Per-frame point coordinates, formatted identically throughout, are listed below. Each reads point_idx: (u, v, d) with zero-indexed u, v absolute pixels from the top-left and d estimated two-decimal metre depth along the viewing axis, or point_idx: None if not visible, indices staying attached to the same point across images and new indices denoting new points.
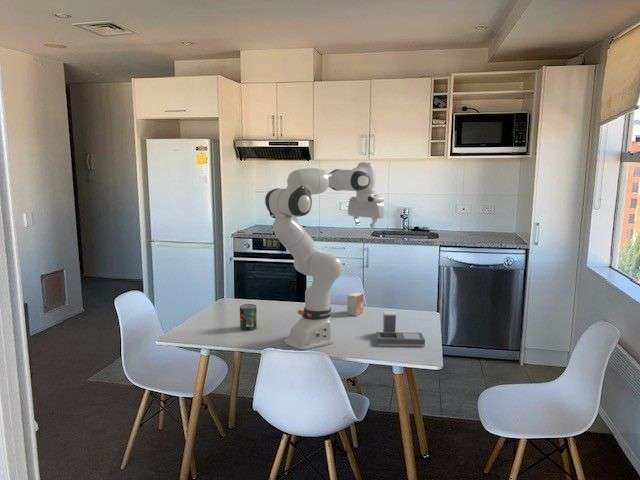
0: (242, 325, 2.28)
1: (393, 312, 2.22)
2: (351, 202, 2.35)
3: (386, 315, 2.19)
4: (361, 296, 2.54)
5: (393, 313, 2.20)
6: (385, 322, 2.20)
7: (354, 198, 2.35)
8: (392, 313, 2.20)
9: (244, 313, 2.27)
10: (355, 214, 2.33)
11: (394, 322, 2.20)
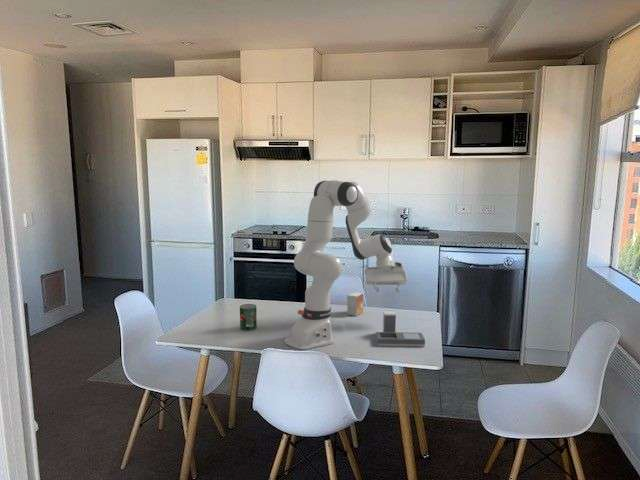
0: (242, 325, 2.28)
1: (393, 312, 2.22)
2: (371, 270, 2.38)
3: (386, 315, 2.19)
4: (361, 296, 2.54)
5: (393, 313, 2.20)
6: (385, 322, 2.20)
7: (372, 268, 2.40)
8: (392, 313, 2.20)
9: (244, 313, 2.27)
10: (377, 279, 2.35)
11: (394, 322, 2.20)
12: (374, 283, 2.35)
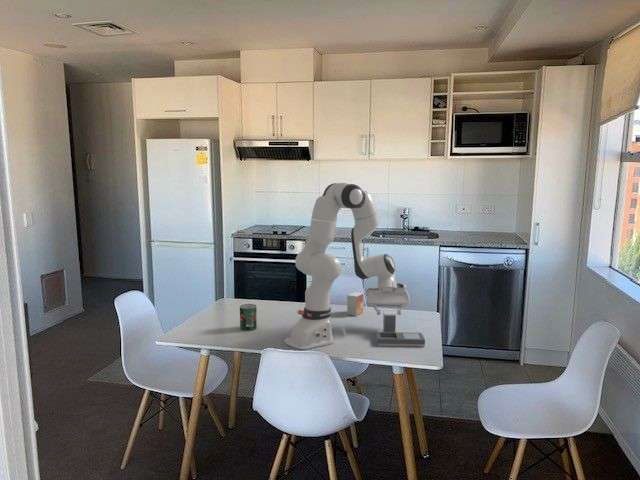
0: (242, 325, 2.28)
1: (393, 312, 2.22)
2: (372, 291, 2.30)
3: (386, 315, 2.19)
4: (361, 296, 2.54)
5: (393, 313, 2.20)
6: (385, 322, 2.20)
7: (373, 289, 2.32)
8: (392, 313, 2.20)
9: (244, 313, 2.27)
10: (378, 301, 2.27)
11: (394, 322, 2.20)
12: (375, 305, 2.26)
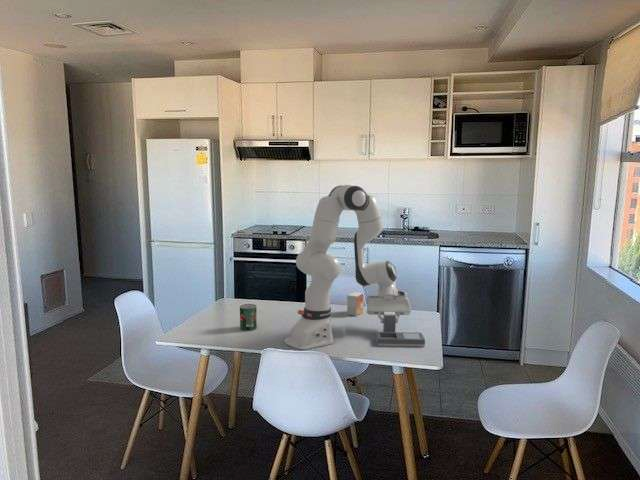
0: (242, 325, 2.28)
1: (393, 312, 2.22)
2: (372, 298, 2.27)
3: (386, 315, 2.19)
4: (361, 296, 2.54)
5: (393, 313, 2.20)
6: (385, 322, 2.20)
7: (373, 296, 2.29)
8: (392, 313, 2.20)
9: (244, 313, 2.27)
10: (378, 309, 2.24)
11: (394, 322, 2.20)
12: (379, 313, 2.23)
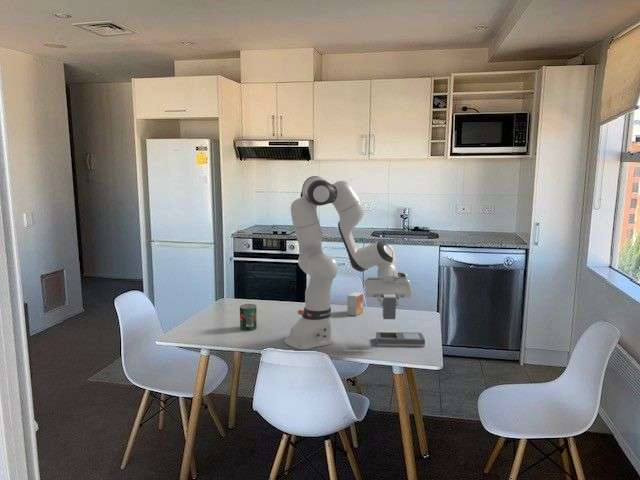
0: (242, 325, 2.28)
1: (393, 294, 2.10)
2: (371, 280, 2.15)
3: (386, 297, 2.07)
4: (361, 296, 2.54)
5: (393, 295, 2.08)
6: (385, 305, 2.08)
7: (372, 278, 2.17)
8: (392, 295, 2.08)
9: (244, 313, 2.27)
10: (378, 291, 2.12)
11: (394, 305, 2.08)
12: (378, 295, 2.11)
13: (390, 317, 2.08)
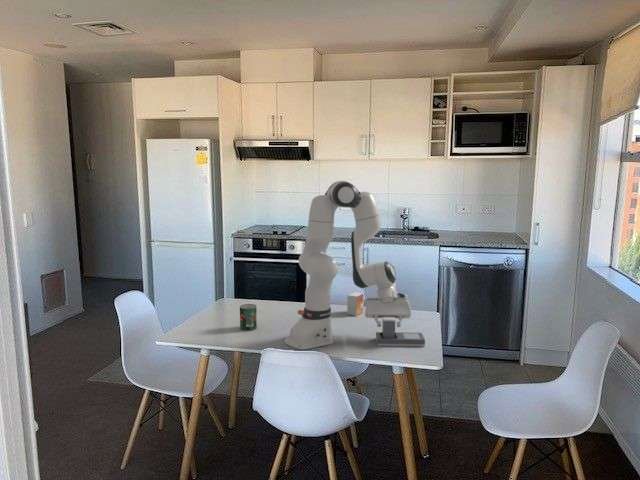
0: (242, 325, 2.28)
1: (393, 317, 2.11)
2: (371, 301, 2.16)
3: (385, 320, 2.09)
4: (361, 296, 2.54)
5: (393, 318, 2.10)
6: (384, 328, 2.09)
7: (372, 299, 2.18)
8: (391, 318, 2.10)
9: (244, 313, 2.27)
10: (377, 312, 2.13)
11: (394, 328, 2.09)
12: (375, 316, 2.13)
13: None
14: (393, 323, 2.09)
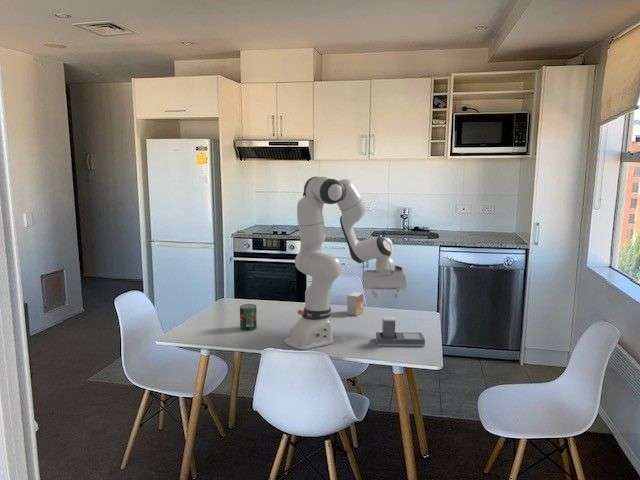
0: (242, 325, 2.28)
1: (393, 317, 2.11)
2: (369, 273, 2.27)
3: (385, 320, 2.09)
4: (361, 296, 2.54)
5: (393, 318, 2.10)
6: (384, 328, 2.09)
7: (370, 271, 2.29)
8: (391, 318, 2.10)
9: (244, 313, 2.27)
10: (375, 284, 2.24)
11: (394, 328, 2.09)
12: (372, 288, 2.24)
13: None
14: (393, 323, 2.09)
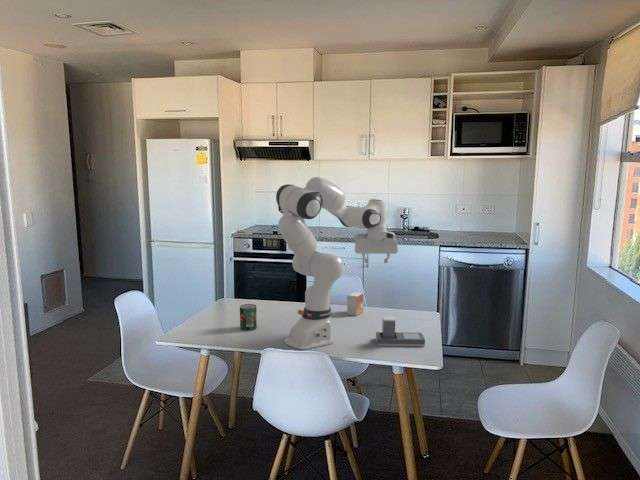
0: (242, 325, 2.28)
1: (393, 317, 2.11)
2: (360, 240, 2.28)
3: (385, 320, 2.09)
4: (361, 296, 2.54)
5: (393, 318, 2.10)
6: (384, 328, 2.09)
7: (362, 235, 2.29)
8: (391, 318, 2.10)
9: (244, 313, 2.27)
10: (366, 251, 2.29)
11: (394, 328, 2.09)
12: (363, 254, 2.30)
13: None
14: (393, 323, 2.09)
